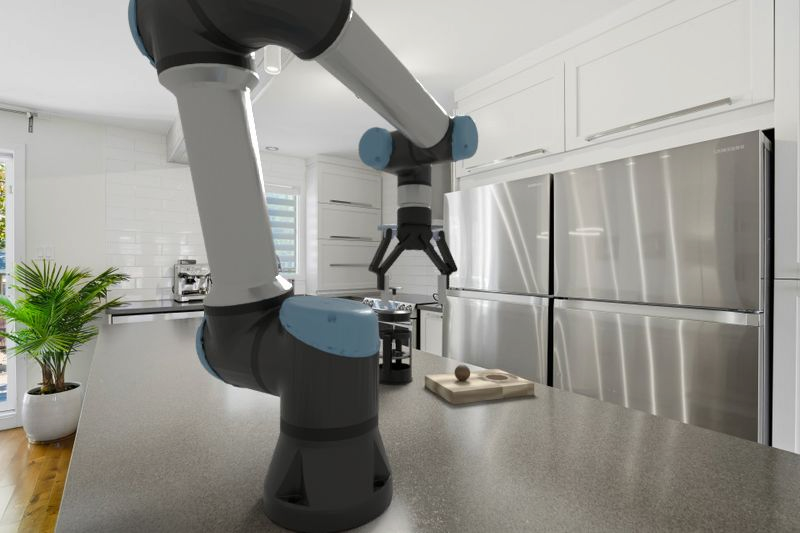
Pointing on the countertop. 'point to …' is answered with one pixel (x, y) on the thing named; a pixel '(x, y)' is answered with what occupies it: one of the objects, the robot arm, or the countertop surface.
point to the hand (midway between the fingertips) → (414, 305)
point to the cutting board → (479, 386)
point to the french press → (394, 347)
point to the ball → (462, 372)
